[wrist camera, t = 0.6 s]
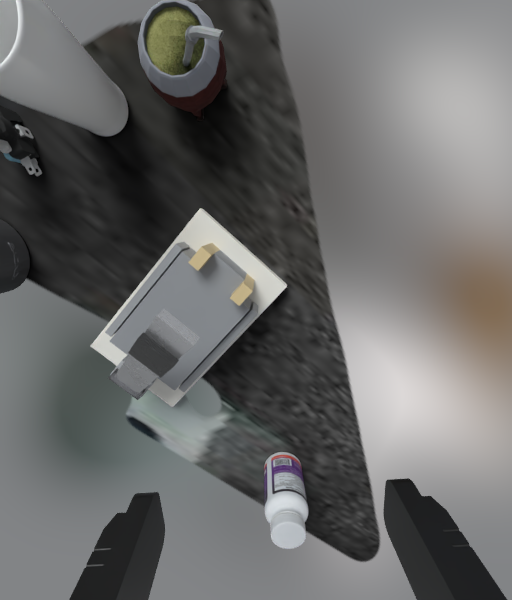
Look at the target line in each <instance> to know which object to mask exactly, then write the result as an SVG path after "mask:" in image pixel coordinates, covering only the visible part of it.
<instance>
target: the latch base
mask: <svg viewBox="0 0 512 600" xmlns="http://www.w3.org/2000/svg"><path fill="white" fill-rule="evenodd" d="M286 287H287V284H286V283H285V282H284V281H283V280H282V279H281V278H279V277H278V276H277V275H276V274H275V273H274V272H273V271H272V270H271V269H269V268H268V267H267V266H266V265H265V264H264V263H263V262H262V261H261V260H259V259H258V258H257V257H256V256H255V255H254V254H253V253H252V252H251V251H249V250H248V249H247V248H246V247H245V246H244V245H243V244H242V243H241V242H239V241H238V240H237V239H236V238H235V237H234V236H233V235H232V234H230V233H229V232H228V231H227V230H226V229H225V228H224V227H223V226H222V225H220V224H219V223H218V222H217V221H216V220H215V219H214V218H213V217H212V216H210V215H209V214H208V213H207V212H206V211H205V210H204V209H202V208H200V209H199V210H198V212H197V213H196V214H195V215H194V217H193V218H192V219H191V220H190V222H189V223H188V224H187V225H186V227H185V228H184V229H183V231H182V232H181V233H180V234H179V236H178V237H177V238H176V239H175V241H174V242H173V243H172V244H171V246H170V247H169V248H168V249H167V251H166V252H165V253H164V254H163V256H162V257H161V258H160V259H159V261H158V262H157V263H156V264H155V266H154V267H153V268H152V269H151V271H150V272H149V273H148V274H147V276H146V277H145V278H144V279H143V281H142V282H141V283H140V284H139V286H138V287H137V288H136V289H135V291H134V292H133V293H132V295H131V296H130V297H129V298H128V300H127V301H126V302H125V303H124V305H123V306H122V307H121V308H120V310H119V311H118V312H117V313H116V315H115V316H114V317H113V318H112V320H111V321H110V322H109V323H108V325H107V326H106V327H105V328H104V330H103V331H102V332H101V334H100V335H99V336H98V337H97V339H96V340H95V341H94V342H93V344H92V345H91V347H92V348H94V349H95V350H96V351H98V352H99V353H100V354H102V355H103V356H104V357H106V358H107V359H108V360H110V361H111V362H113V363H114V364H115V365H116V366H117V367H116V368H115V369H114V370H113V372H114V371H115V370H116V369H117V368H119V369H120V367H121V366H122V365H123V363H124V362H125V360H126V359H127V357H128V356H129V355H130V354H129V353H128V352H129V350H130V349H131V348H132V346H133V345H134V343H135V342H136V340H137V339H138V337H139V336H140V335H141V334H142V333H143V332H144V333H145V332H146V330H147V329H148V327H149V326H150V324H151V323H152V322H153V320H154V319H155V317H156V316H157V315H158V314H159V313H160V312H161V311H162V310H163V309H165V310H167V311H168V312H169V313H170V314H172V315H173V316H174V317H175V318H177V319H178V320H179V321H180V322H182V323H183V324H184V325H185V326H186V327H188V328H189V329H190V330H191V331H193V332H194V333H195V334H196V335H198V336H199V337H200V338H199V339H198V341H197V342H196V343H195V345H194V346H193V347H192V348H191V349H189V350H188V351H187V352H186V353H185V354H184V355H183V356H181V357H180V358H179V359H178V360H179V361H178V362H177V364H176V365H175V366H174V367H173V368H172V369H171V370H169V371H168V372H167V373H166V374H165V375H164V376H162V377H161V378H160V377H159V376H158V377H157V378H156V379H155V380H154V381H153V382H152V383H150V384H149V385H148V386H147V387H146V391H147V390H150V391H151V392H152V393H154V394H155V395H156V396H158V397H159V398H161V399H162V400H163V401H165V402H166V403H167V404H169V405H170V406H171V407H174V406H175V404H176V403H177V402H178V401H179V400H180V399H181V398H182V397H183V396H184V395H185V394H186V393H187V392H188V390H190V389H191V388H192V386H193V385H194V384H195V383H196V382H197V381H198V380H199V379H200V378H201V377H202V376H203V375H204V374H205V373H206V372H207V371H208V370H209V369H210V367H211V366H212V365H213V364H214V363H215V362H216V361H217V360H218V359H219V358H220V357H221V356H222V355H223V354H224V353H225V352H226V351H227V349H228V348H229V347H230V346H231V345H232V344H233V343H234V342H235V341H236V340H237V339H238V338H239V337H240V336H241V335H242V334H243V333H244V331H245V330H246V329H247V328H248V327H249V326H250V325H251V324H252V323H253V322H254V321H255V320H256V319H257V318H258V317H259V316H260V315H261V314H262V312H263V311H264V310H265V309H266V308H267V307H268V306H269V305H270V304H271V303H272V302H273V301H274V300H275V299H276V298H277V297H278V296H279V294H280V293H281V292H282V291H283V290H284V289H285V288H286ZM113 372H112V373H113ZM112 373H111V374H112ZM111 374H110V375H111ZM146 391H145V392H146ZM145 392H144V393H145ZM144 393H143V395H144ZM143 395H142V396H143ZM142 396H141V397H142Z"/></svg>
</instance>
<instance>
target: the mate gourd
mask: <svg viewBox="0 0 512 600" xmlns="http://www.w3.org/2000/svg"><path fill="white" fill-rule="evenodd" d="M222 36H223V30H218V29H215V27H214V25H213V23H212V21H211V19H210V18H209V17H208V16H207V15H206V14H205V13H204V12H203V11H202V10H201V9H200V8H199V7H198V6H197V5H196V4H194V3H191V2H188V1H186V0H162V1H160V2H159V3H157V4H156V5H154V6H153V7H151V8H150V10H149V11H148V13H147V14H146V16H145V18H144V19H143V21H142V23H141V28H140V33H139V39H138V49H139V55H140V62H141V65H142V67H143V70H144V72H145V74H146V76H147V78H148V80H149V82H150V84H151V86H152V87H153V89H154V91H155V92H157V93H158V94H159V95H160V96H161V97H162V98H163V99H164V100H165V101H166V102H167V103H168V104H170V105H171V106H174V107H177V108H179V109H182V110H184V111H188V112H191V113H193V114H194V115H195V116H196V120H197V121H203V120H204V110H203V108H204V107H206V106H207V105H209V104H210V103H212V101H213V100H214V99H215V97H216V96H217V94H218V93H219V91H220V90H223V89H226V88H227V80H226V79H225V77H226V72H227V71H226V61H225V55H224V47H223V44H222V42H221V38H222Z"/></svg>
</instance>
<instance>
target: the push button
mask: <svg viewBox="0 0 512 600" xmlns="http://www.w3.org/2000/svg"><path fill="white" fill-rule="evenodd" d="M21 122H22V120H21V118H20V117H19V115H18V114H17V113H16V112H13V111H11V110H9V109H7V108H4V107H2V106H0V150H1V152H3V154H4V156H5V157H6V158H7V159H8V160H10V161H14V162H18V163H21V164H22V165H23V166H25V168H26V169H27V171H28V173H29V174H30V175H32V174H34V173H35V175H36V176H39V175H41V174H42V171H41V170H40V168H39V166H38V165H37V164H38V162H37V160H36V159H37V158H39V155H38V154H37V152H36V150H35V148H34V147H33V145H32V143H31V142H30V140H29V138H32V139H33V138H34V137H33V136H32V134H31V132H30V130H29V129H28V128H25V127H23V126H21V125H20V123H21ZM25 130H26V131H27V132H28V133H29V135H28V134H27V133H26V131H25ZM28 137H29V138H28ZM29 167H31V168H32V171H30V170H29ZM36 169H38V170H39V171H38V172H36Z"/></svg>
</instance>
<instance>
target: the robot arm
mask: <svg viewBox="0 0 512 600" xmlns="http://www.w3.org/2000/svg"><path fill="white" fill-rule="evenodd" d="M29 268H30V258H29V253H28V249H27V247H26V244H25V242H24V241H23V239H22V238H21V236H20V235H19V234H18V233H17V231H16V230H15V229H14V228H13V227H11V226H10V225H9V224H8V223H6V222H4V221H2V220H0V293H4V292H7V291H10V290H14V289H15V288H17V287H18V286H20V285H21V284H22V283H23V282H24V281H25V279H26V277H27V275H28V272H29ZM384 520H385V525H386V529H387V532H388V535H389V537H390V539H391V542H392V544H393V546H394V548H395V551H396V553H397V555H398V557H399V560H400V562H401V564H402V567H403V569H404V571H405V573H406V576H407V578H408V580H409V583H410V585H411V587H412V590H413V592H414V594H415V596H416V599H417V600H507V599H506V597H505V596H504V594H503V593H502V592H501V590H500V588H499V587H498V585H497V584H496V583H495V581H494V580H493V578H492V577H491V575H490V574H489V572H488V571H487V569H486V568H485V566H484V565H483V563H482V562H481V560H480V559H479V557H478V556H477V555H476V553H475V552H474V550H473V549H472V548H471V547H470V546H469V543H468V542H467V540H466V538H465V537H464V535H463V534H462V532H460V531H459V528H458V526H457V525H456V524H455V522H454V521H453V519H452V518H451V516H450V515H449V513H448V512H447V510H446V509H444V508H443V507H442V506H441V505H440V504H439V503H438V502H436V501H435V500H434V499H433V498H432V497H431V496H425V497H424V496H421V494H420V493H419V491H418V489H417V488H416V486H415V485H414V483H413V482H412V481H411V480H410V479H394V480H387V481H386V486H385V500H384ZM164 535H165V524H164V518H163V513H162V508H161V502H160V496H159V493H157V492H154V493H137V494H135V495H134V497H133V499H132V501H131V503H130V505H129V508H128V510H127V512H126V513H117V514H116V515H115V517H114V518H113V519H112V520H111V521H110V522H109V524H108V525H107V526H106V527H105V528H104V530H103V532H102V534H101V536H100V538H99V540H98V542H97V544H96V546H95V549H94V552H92V554H91V556H90V558H89V560H88V562H87V567H86V568H85V569H84V571H83V573H82V575H81V577H80V579H79V581H78V583H77V585H76V587H75V589H74V591H73V593H72V595H71V597H70V600H148V598H149V594H150V590H151V587H152V583H153V580H154V576H155V573H156V569H157V565H158V562H159V558H160V554H161V551H162V547H163V543H164Z"/></svg>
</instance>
